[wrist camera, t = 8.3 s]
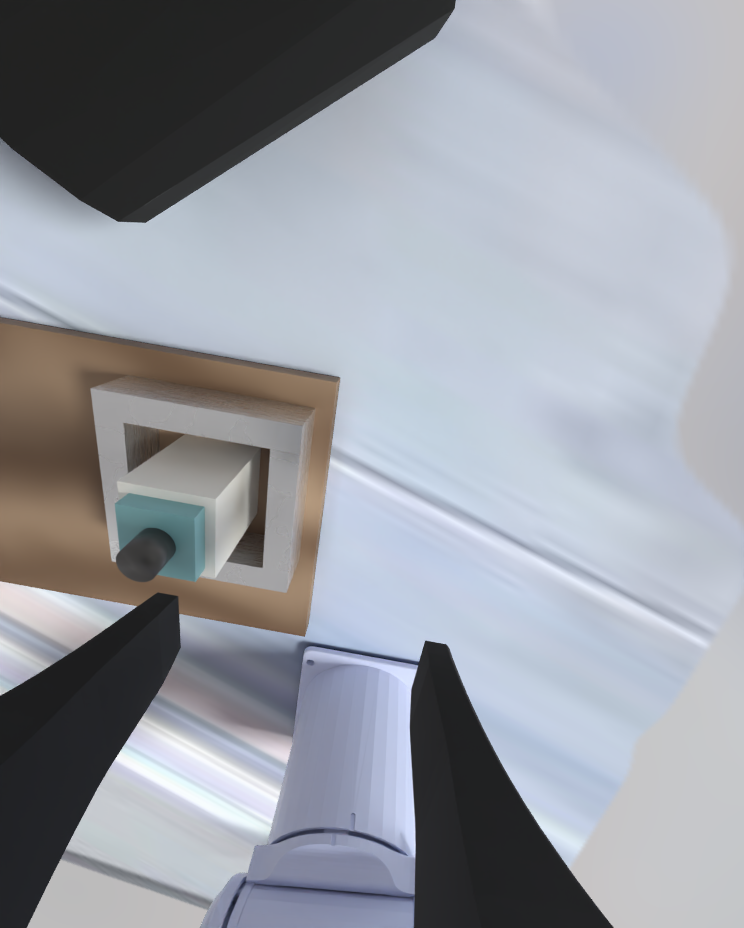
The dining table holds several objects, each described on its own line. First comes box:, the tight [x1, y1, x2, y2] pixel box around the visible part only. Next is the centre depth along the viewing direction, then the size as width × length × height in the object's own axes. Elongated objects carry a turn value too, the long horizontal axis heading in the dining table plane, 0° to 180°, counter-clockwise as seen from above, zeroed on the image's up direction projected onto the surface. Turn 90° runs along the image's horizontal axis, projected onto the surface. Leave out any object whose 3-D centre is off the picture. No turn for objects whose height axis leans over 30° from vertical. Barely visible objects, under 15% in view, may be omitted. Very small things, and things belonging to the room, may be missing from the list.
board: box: [0, 317, 340, 637], centre depth 21 cm, size 15×20×1 cm
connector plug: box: [115, 434, 261, 582], centre depth 17 cm, size 4×4×7 cm
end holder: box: [90, 375, 315, 593], centre depth 19 cm, size 8×8×2 cm
